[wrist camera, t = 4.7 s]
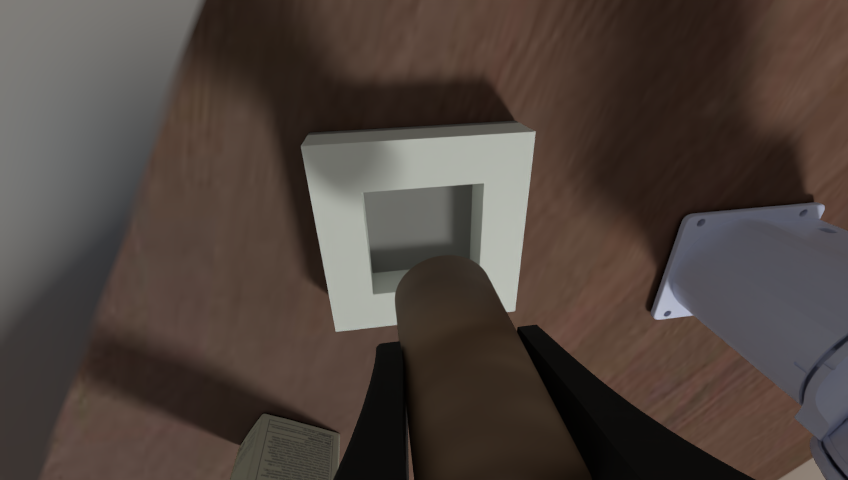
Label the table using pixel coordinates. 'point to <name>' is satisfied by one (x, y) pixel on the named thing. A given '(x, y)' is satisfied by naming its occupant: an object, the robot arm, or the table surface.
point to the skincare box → (286, 452)
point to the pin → (474, 383)
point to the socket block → (416, 208)
